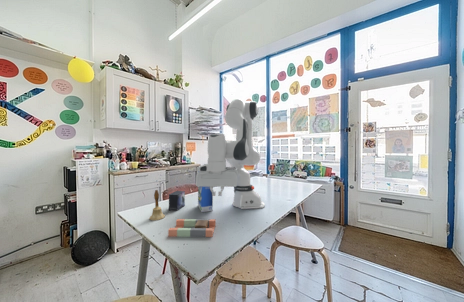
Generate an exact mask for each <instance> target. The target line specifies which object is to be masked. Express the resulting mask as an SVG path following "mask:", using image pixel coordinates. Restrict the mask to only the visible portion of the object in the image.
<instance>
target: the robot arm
mask: <svg viewBox="0 0 464 302" xmlns="http://www.w3.org/2000/svg"><path fill="white" fill-rule="evenodd" d="M225 109H226V112H225V116H224V117H225V118H224V120H225V123H226V125H228V127H230V128H231V129H234V130H236V133H235V134H236V135H235V140H226V135H225V134H224V133H212V134H210V135H209V136H208V138H207V139H208V140H207V155H208V156H207V163H204V164H202V165H199V166H198V167H197V172H196V175H195V186H196V187H197V188H198V187H210V190H211V192H212V196H214V197H215V196H216V191H215V190H214V188H215V187H216V188H217V187H218V188H219V187H220V191H218V193H217V194H218V197H222V195H223V194H222V193H223V191H224V189H225V187H226V188H228V187H233V192H234V194H233V201H232V206H233V207H236V208H239V209H242V210H246V209H247V210H249V209H263V208H265V205H266V204H265V202H264V201H263V200H262V197H261V195H260V194H259V193H257V191H255V186H253V184H251V174H250V172H249V171H248V170H247V169H246V168H245V166H256V165H258V164H259V163H260V160H261V155H260V153H259V152H258V151H257V150H256V148H255V147H254V145H253V138H252V137H253V120H254V119H255V118H256V117H257V116H258V114H259V105H258V102H257V101H255V100H253V101H252V100H251V101H249V100H248V101H245V100H243V99H241V98H234V99H232V100H231V101H230V103H228V104H227V106H226V108H225ZM227 163H228V164H229V165H230V166H227ZM198 171H199V172H198Z"/></svg>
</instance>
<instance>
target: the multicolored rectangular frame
mask: <svg viewBox="0 0 464 302" xmlns="http://www.w3.org/2000/svg"><path fill="white" fill-rule="evenodd" d="M198 220H208V228H195V224H196V223H197V221H198ZM216 224H217V223H216V219H214V218H213V219H208V218H203V219H202V218H201V219H200V218H196V219H195V218H192V219H191V218H177V219H176V221H175V226H174V227H170V228H168V231H167V232H168V233H167V234H168V237H176V238H177V237H182V238H184V237H187V238H188V237H191V238H193V237H194V238H213V235H214V232H215V228H216Z"/></svg>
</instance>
